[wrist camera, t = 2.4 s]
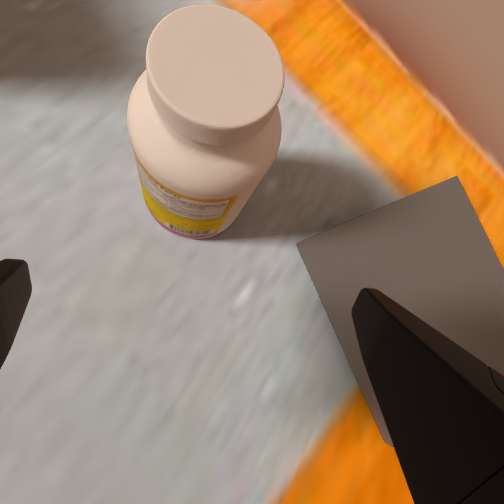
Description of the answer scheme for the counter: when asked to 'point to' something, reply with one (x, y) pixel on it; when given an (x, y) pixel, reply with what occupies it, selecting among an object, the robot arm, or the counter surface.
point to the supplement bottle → (205, 117)
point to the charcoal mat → (414, 274)
